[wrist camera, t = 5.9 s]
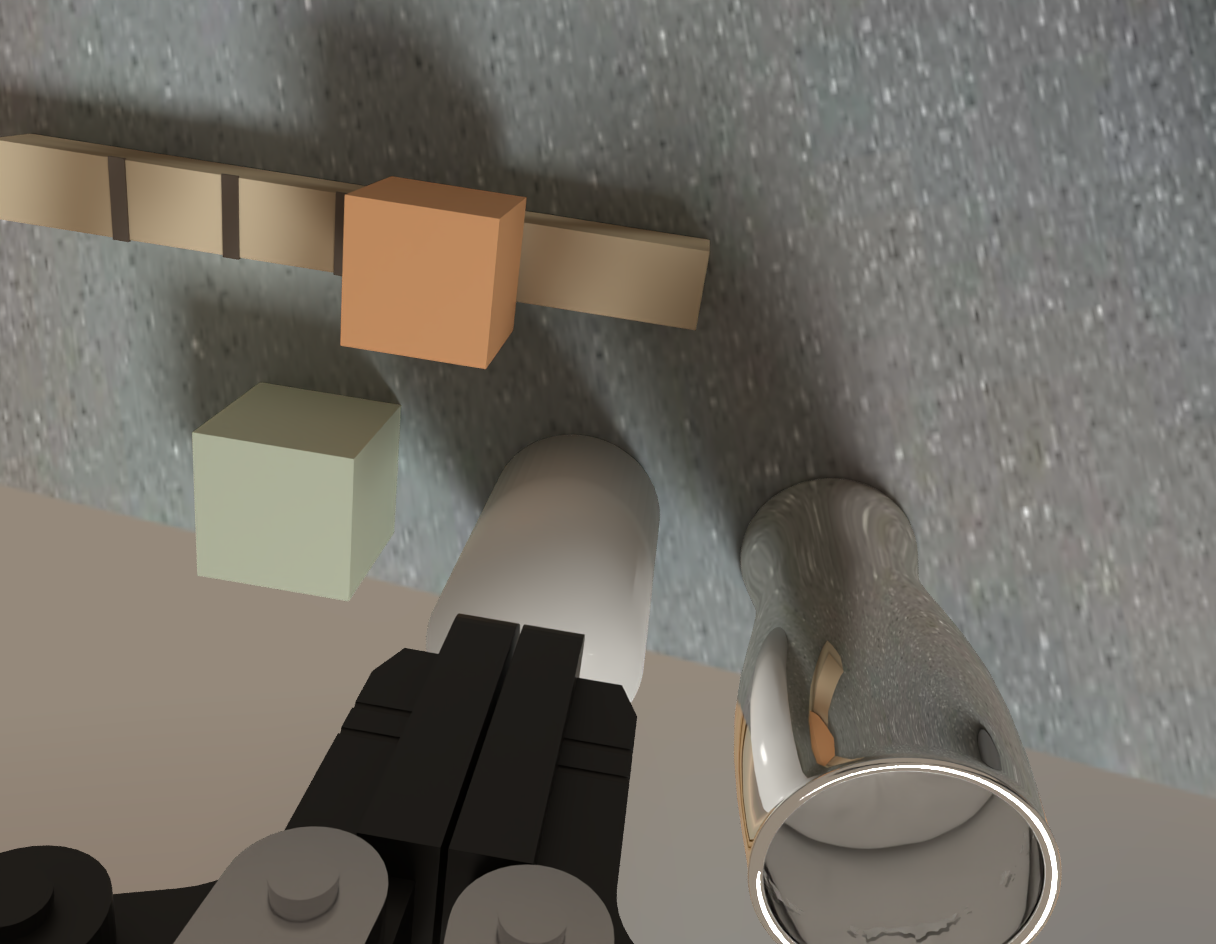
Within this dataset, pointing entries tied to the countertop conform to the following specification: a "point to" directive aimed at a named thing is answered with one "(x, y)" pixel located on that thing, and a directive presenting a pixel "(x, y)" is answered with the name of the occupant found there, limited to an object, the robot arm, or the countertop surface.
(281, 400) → the sage block
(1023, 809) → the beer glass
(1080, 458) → the countertop surface
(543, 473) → the grey rounded cylinder
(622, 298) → the rail
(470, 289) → the block
